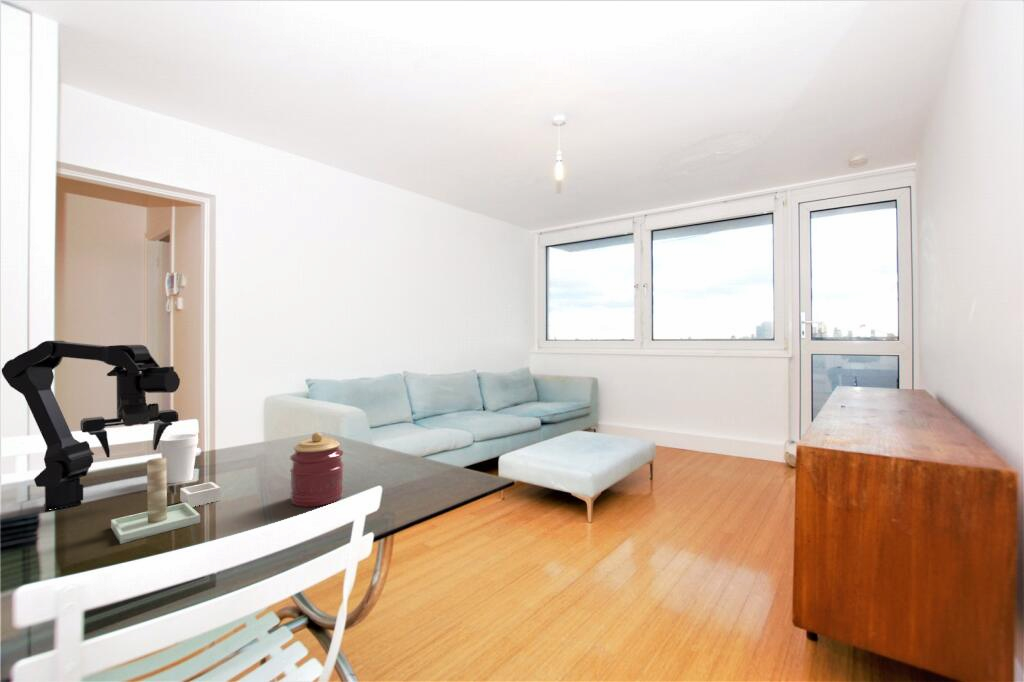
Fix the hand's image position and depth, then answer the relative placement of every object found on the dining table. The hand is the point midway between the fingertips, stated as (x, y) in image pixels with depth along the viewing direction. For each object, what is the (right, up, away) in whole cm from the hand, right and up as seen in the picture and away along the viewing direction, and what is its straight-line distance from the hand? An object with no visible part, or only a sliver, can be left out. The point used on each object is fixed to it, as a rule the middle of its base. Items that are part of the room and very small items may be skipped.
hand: (132, 453), depth 115 cm
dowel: (+16, -12, -12) cm, 24 cm away
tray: (+17, -13, -13) cm, 25 cm away
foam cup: (-2, -13, +19) cm, 23 cm away
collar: (+17, -13, +2) cm, 21 cm away
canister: (+47, -13, +3) cm, 49 cm away
